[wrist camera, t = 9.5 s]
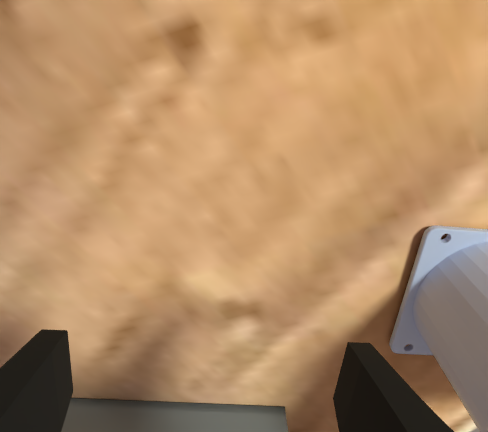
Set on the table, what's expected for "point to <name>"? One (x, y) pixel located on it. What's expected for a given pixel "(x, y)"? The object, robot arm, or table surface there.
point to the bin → (170, 417)
